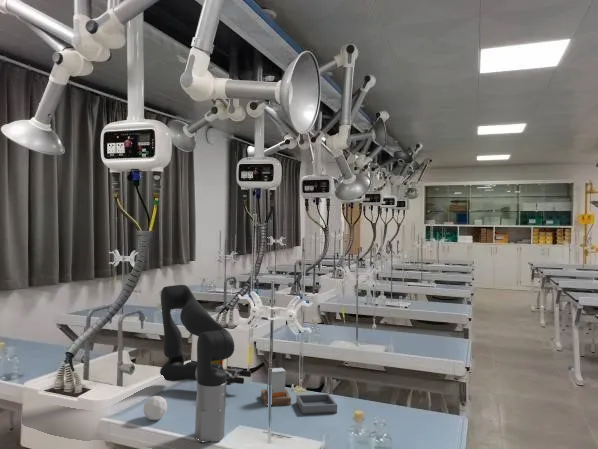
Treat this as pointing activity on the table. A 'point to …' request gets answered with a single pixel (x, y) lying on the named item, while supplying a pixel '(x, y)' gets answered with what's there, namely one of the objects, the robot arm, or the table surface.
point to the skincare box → (277, 382)
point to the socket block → (276, 399)
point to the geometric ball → (155, 408)
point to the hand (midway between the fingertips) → (247, 377)
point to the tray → (316, 404)
